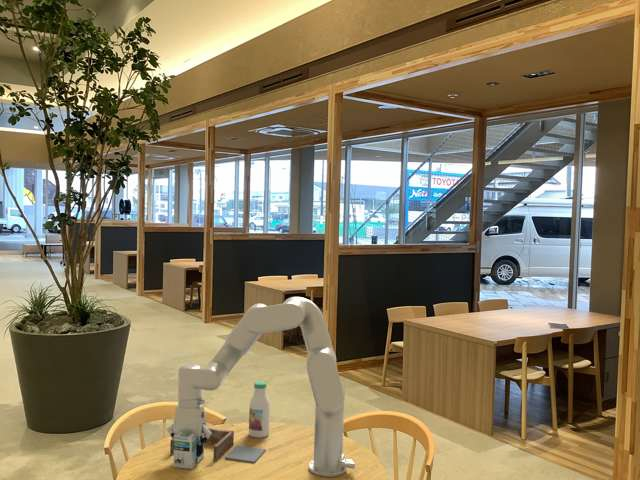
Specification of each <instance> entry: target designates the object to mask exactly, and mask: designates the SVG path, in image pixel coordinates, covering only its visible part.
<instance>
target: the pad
mask: <svg viewBox="0 0 640 480" xmlns="http://www.w3.org/2000/svg"><path fill="white" fill-rule="evenodd" d="M265 452H266V448H263V447H262V448H261V447H253V446H247V445H239V444H236V445H235V446H234V447H233V448H232V449H231V450H230V451H229V452H228V453H227V454H226V455H224V459H225V460H231V461H237V462H242V463H243V462H245V463H250V464H251V463H252V464H256V463H257V462H258V460H259V459H260V458H261V457H262V456H263V454H264V453H265Z"/></svg>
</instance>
